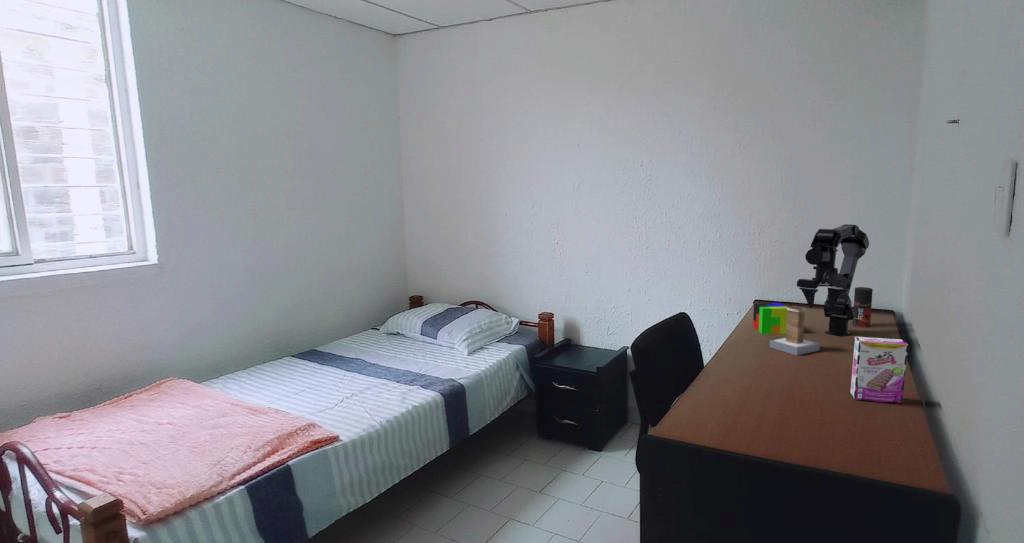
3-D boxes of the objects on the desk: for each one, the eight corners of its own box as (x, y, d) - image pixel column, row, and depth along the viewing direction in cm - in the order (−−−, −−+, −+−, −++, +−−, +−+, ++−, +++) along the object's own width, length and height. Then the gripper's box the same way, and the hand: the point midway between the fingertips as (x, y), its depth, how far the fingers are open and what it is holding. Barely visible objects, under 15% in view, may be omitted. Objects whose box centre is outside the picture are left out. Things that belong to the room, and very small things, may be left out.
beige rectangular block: (792, 339, 194) (793, 306, 192) (803, 341, 191) (805, 307, 189) (785, 341, 192) (787, 307, 190) (797, 343, 188) (798, 309, 187)
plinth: (791, 342, 199) (791, 335, 198) (819, 350, 189) (819, 343, 189) (769, 347, 194) (769, 340, 194) (797, 355, 184) (797, 347, 184)
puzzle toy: (778, 327, 220) (779, 302, 219) (788, 333, 210) (789, 308, 209) (753, 327, 221) (753, 303, 220) (761, 334, 211) (762, 308, 210)
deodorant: (853, 327, 217) (856, 289, 214) (851, 323, 222) (853, 286, 220) (871, 328, 214) (874, 290, 212) (868, 324, 220) (870, 287, 218)
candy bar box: (854, 400, 146) (858, 341, 144) (849, 393, 151) (853, 335, 148) (904, 404, 142) (909, 343, 140) (897, 397, 147) (902, 338, 145)
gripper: (823, 266, 185) (818, 311, 186) (866, 267, 190) (861, 311, 191) (797, 263, 195) (793, 306, 197) (838, 264, 201) (834, 306, 202)
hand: (821, 307), depth 196 cm, fingers open, 9 cm apart
